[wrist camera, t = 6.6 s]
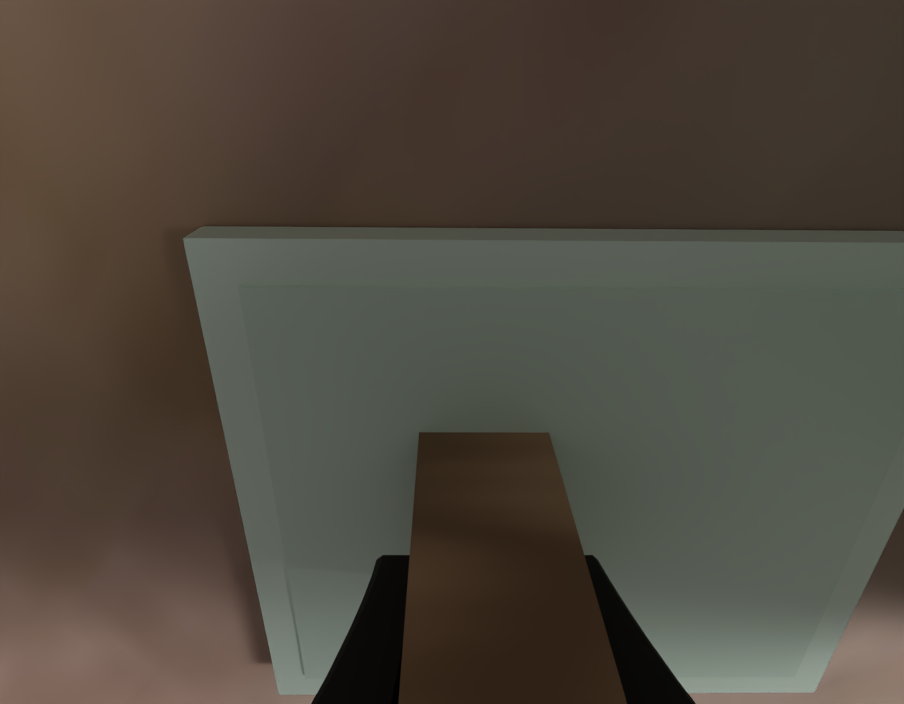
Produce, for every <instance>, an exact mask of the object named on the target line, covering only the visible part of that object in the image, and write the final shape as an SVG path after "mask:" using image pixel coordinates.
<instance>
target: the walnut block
mask: <svg viewBox="0 0 904 704" xmlns="http://www.w3.org/2000/svg"><path fill="white" fill-rule="evenodd" d="M398 704H627V702H626V698H625V695H624V691H623V688H622V684H621V681H620V677H619V674H618V670H617V667H616V663H615V660H614V656H613V653H612V649H611V646H610V642H609V639H608V636H607V632H606V629H605V625H604V622H603V618H602V615H601V611H600V608H599V604H598V601H597V597H596V594H595V590H594V587H593V583H592V580H591V577H590V573H589V570H588V566H587V563H586V559H585V556H584V552H583V549H582V545H581V542H580V538H579V535H578V531H577V528H576V524H575V521H574V518H573V514H572V511H571V507H570V504H569V500H568V497H567V493H566V490H565V486H564V483H563V479H562V476H561V472H560V469H559V465H558V462H557V459H556V455H555V452H554V448H553V445H552V441H551V438H550V434H549V433H526V432H419V439H418V452H417V466H416V479H415V492H414V505H413V518H412V531H411V544H410V558H409V571H408V584H407V597H406V610H405V623H404V637H403V650H402V663H401V676H400V689H399V702H398Z"/></svg>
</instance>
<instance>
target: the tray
mask: <svg viewBox="0 0 904 704" xmlns="http://www.w3.org/2000/svg"><path fill="white" fill-rule="evenodd" d="M183 242H184V247H185V251H186V256H187V261H188V266H189V270H190V275H191V280H192V285H193V289H194V294H195V299H196V303H197V308H198V313H199V318H200V322H201V327H202V332H203V337H204V341H205V346H206V351H207V356H208V360H209V365H210V370H211V375H212V379H213V384H214V389H215V394H216V398H217V403H218V408H219V413H220V417H221V422H222V427H223V432H224V436H225V441H226V446H227V451H228V455H229V460H230V465H231V469H232V474H233V479H234V484H235V488H236V493H237V498H238V503H239V507H240V512H241V517H242V522H243V526H244V531H245V536H246V541H247V545H248V550H249V555H250V560H251V564H252V569H253V574H254V579H255V583H256V588H257V593H258V598H259V602H260V607H261V612H262V616H263V621H264V626H265V631H266V635H267V640H268V645H269V650H270V654H271V659H272V664H273V669H274V673H275V678H276V683H277V688H278V692H279V695H316V694H317V692H318V691H319V689H320V687H321V685H322V683H323V682H324V680H325V678H326V676H327V674H328V672H329V670H330V668H331V666H332V664H333V662H334V660H335V658H336V656H337V654H338V652H339V650H340V648H341V646H342V644H343V642H344V640H345V638H346V635H347V633H348V631H349V629H350V627H351V625H352V623H353V620H354V618H355V616H356V614H357V611H358V609H359V607H360V604H361V602H362V599H363V597H364V595H365V592H366V589H367V587H368V584H369V581H370V579H371V576H372V573H373V570H374V566H375V563H376V560H377V559H378V558H379V557H381V556H382V555H410V544H411V531H412V518H413V505H414V492H415V479H416V466H417V452H418V439H419V432H526V433H549V434H550V438H551V441H552V445H553V448H554V452H555V455H556V459H557V462H558V465H559V469H560V472H561V476H562V479H563V483H564V486H565V490H566V493H567V497H568V500H569V504H570V507H571V511H572V514H573V518H574V521H575V524H576V528H577V531H578V535H579V538H580V542H581V545H582V549H583V552H584V555H593V556H594V557H595V558H596V559H598V561H599V562H600V564H601V566H602V568H603V569H604V571H605V573H606V574H607V576H608V578H609V579H610V581H611V583H612V584H613V586H614V587H615V589H616V591H617V592H618V594H619V595H620V597H621V598H622V600H623V602H624V603H625V605H626V606H627V608H628V609H629V611H630V612H631V614H632V615H633V617H634V618H635V620H636V621H637V623H638V624H639V626H640V627H641V629H642V630H643V632H644V633H645V635H646V636H647V638H648V639H649V641H650V642H651V643H652V645H653V646H654V648H655V649H656V650H657V652H658V653H659V655H660V656H661V657H662V659H663V660H664V662H665V663H666V664H667V666H668V667H669V668H670V670H671V671H672V673H673V674H674V675H675V677H676V678H677V680H678V681H679V682H680V684H681V685H682V686H683V688H684V689H685V690H686V692H687V693H808V692H815V690H816V688H817V686H818V684H819V682H820V680H821V678H822V676H823V673H824V671H825V669H826V667H827V665H828V663H829V661H830V659H831V657H832V655H833V653H834V651H835V649H836V647H837V645H838V643H839V641H840V638H841V636H842V634H843V632H844V630H845V628H846V626H847V624H848V622H849V620H850V618H851V616H852V614H853V612H854V610H855V608H856V606H857V603H858V601H859V599H860V597H861V595H862V593H863V591H864V589H865V587H866V585H867V583H868V581H869V579H870V577H871V575H872V573H873V571H874V568H875V566H876V564H877V562H878V560H879V558H880V556H881V554H882V552H883V550H884V548H885V546H886V544H887V542H888V540H889V538H890V535H891V533H892V531H893V529H894V527H895V525H896V523H897V521H898V519H899V517H900V515H901V513H902V511H903V509H904V231H846V230H696V229H545V228H395V227H244V226H202V227H200V228H198V229H197V230H195V231H194V232H192V233H190V234H189V235H187V236H185V237H184V238H183Z"/></svg>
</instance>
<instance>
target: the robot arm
mask: <svg viewBox="0 0 904 704" xmlns="http://www.w3.org/2000/svg"><path fill="white" fill-rule="evenodd" d="M584 556H585V559H586V563H587V566H588V570H589V573H590V577H591V580H592V583H593V587H594V590H595V594H596V597H597V601H598V604H599V608H600V611H601V615H602V618H603V622H604V625H605V629H606V632H607V636H608V639H609V642H610V646H611V649H612V653H613V656H614V660H615V663H616V667H617V670H618V674H619V677H620V681H621V684H622V688H623V691H624V695H625V698H626V702H627V704H695V702H694V701H693V700H692V698H691V697H690V696H689V694H688V693H687V692H686V690H685V689H684V688H683V686H682V685H681V684H680V682H679V681H678V680H677V678H676V677H675V675H674V674H673V673H672V671H671V670H670V668H669V667H668V666H667V664H666V663H665V662H664V660H663V659H662V657H661V656H660V655H659V653H658V652H657V650H656V649H655V648H654V646H653V645H652V643H651V642H650V641H649V639H648V638H647V636H646V635H645V633H644V632H643V630H642V629H641V627H640V626H639V624H638V623H637V621H636V620H635V618H634V617H633V615H632V614H631V612H630V611H629V609H628V608H627V606H626V605H625V603H624V602H623V600H622V598H621V597H620V595H619V594H618V592H617V591H616V589H615V587H614V586H613V584H612V583H611V581H610V579H609V578H608V576H607V574H606V573H605V571H604V569H603V568H602V566H601V564H600V562H599V561H598V559H596V558H595V557H594V556H593V555H584ZM409 558H410V555H382V556H381V557H379V558H378V559H377V560H376V563H375V566H374V570H373V573H372V576H371V579H370V581H369V584H368V587H367V589H366V592H365V595H364V597H363V599H362V602H361V604H360V607H359V609H358V611H357V614H356V616H355V618H354V620H353V623H352V625H351V627H350V629H349V631H348V633H347V635H346V638H345V640H344V642H343V644H342V646H341V648H340V650H339V652H338V654H337V656H336V658H335V660H334V662H333V664H332V666H331V668H330V670H329V672H328V674H327V676H326V678H325V680H324V682H323V683H322V685H321V687H320V689H319V691H318V692H317V694H316V696H315V698H314V700H313V701H312V703H311V704H398V702H399V689H400V676H401V663H402V650H403V637H404V623H405V610H406V597H407V584H408V571H409Z"/></svg>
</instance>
